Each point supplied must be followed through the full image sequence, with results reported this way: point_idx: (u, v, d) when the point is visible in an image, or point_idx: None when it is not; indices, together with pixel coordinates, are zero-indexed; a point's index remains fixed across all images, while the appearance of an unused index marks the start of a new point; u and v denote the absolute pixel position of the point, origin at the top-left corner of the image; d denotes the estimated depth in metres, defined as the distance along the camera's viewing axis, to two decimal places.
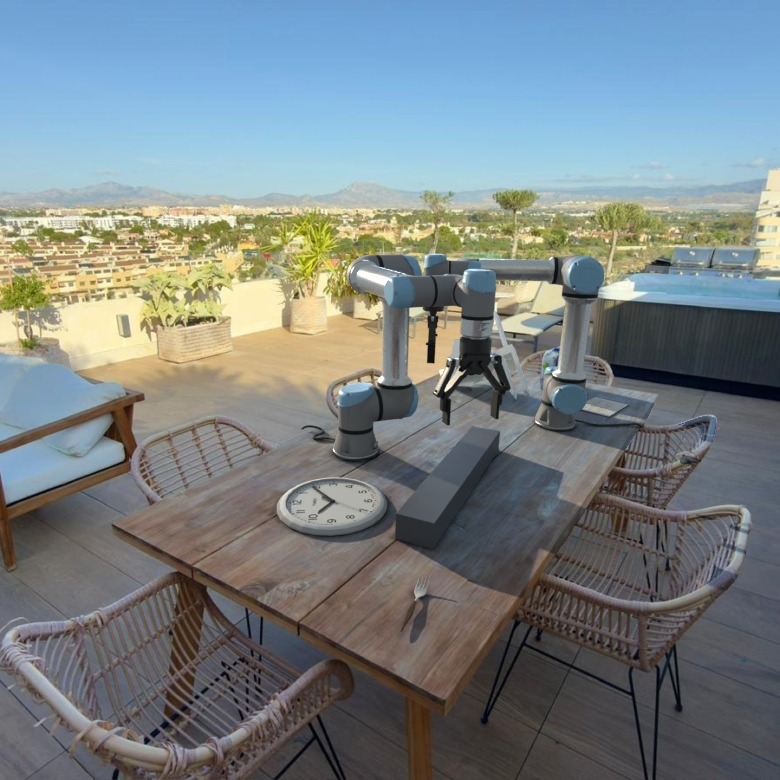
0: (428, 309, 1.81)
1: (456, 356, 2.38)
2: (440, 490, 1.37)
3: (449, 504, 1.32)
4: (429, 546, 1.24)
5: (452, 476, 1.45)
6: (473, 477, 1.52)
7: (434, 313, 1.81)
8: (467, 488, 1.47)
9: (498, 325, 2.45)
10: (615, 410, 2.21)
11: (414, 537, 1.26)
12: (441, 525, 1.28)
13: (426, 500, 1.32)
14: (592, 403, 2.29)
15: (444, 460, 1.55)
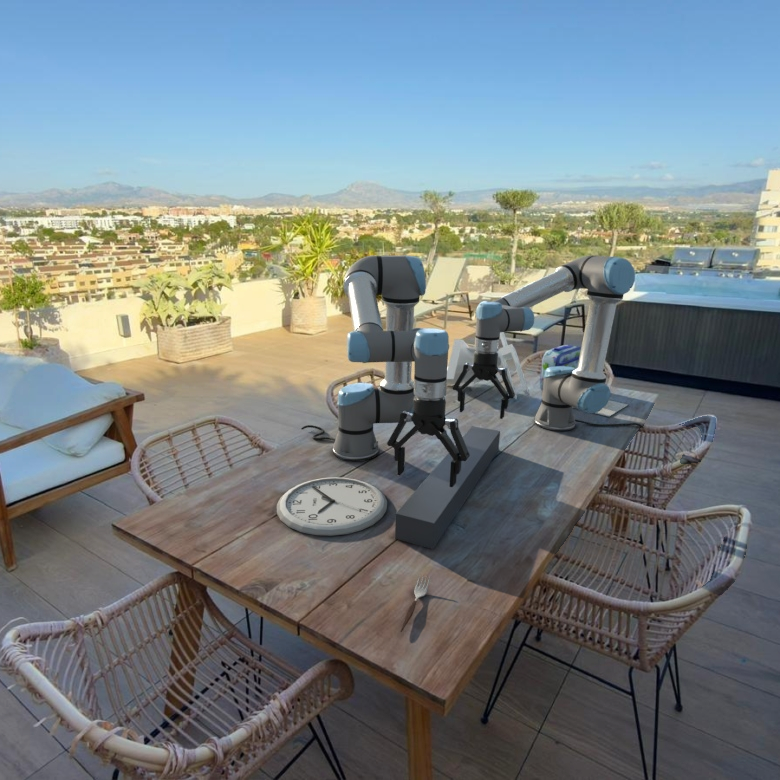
0: (494, 363, 1.64)
1: (456, 356, 2.38)
2: (440, 490, 1.37)
3: (449, 504, 1.32)
4: (429, 546, 1.24)
5: None
6: (473, 477, 1.52)
7: None
8: (467, 488, 1.47)
9: None
10: (615, 410, 2.21)
11: (414, 537, 1.26)
12: (441, 525, 1.28)
13: (426, 500, 1.32)
14: None
15: (444, 460, 1.55)
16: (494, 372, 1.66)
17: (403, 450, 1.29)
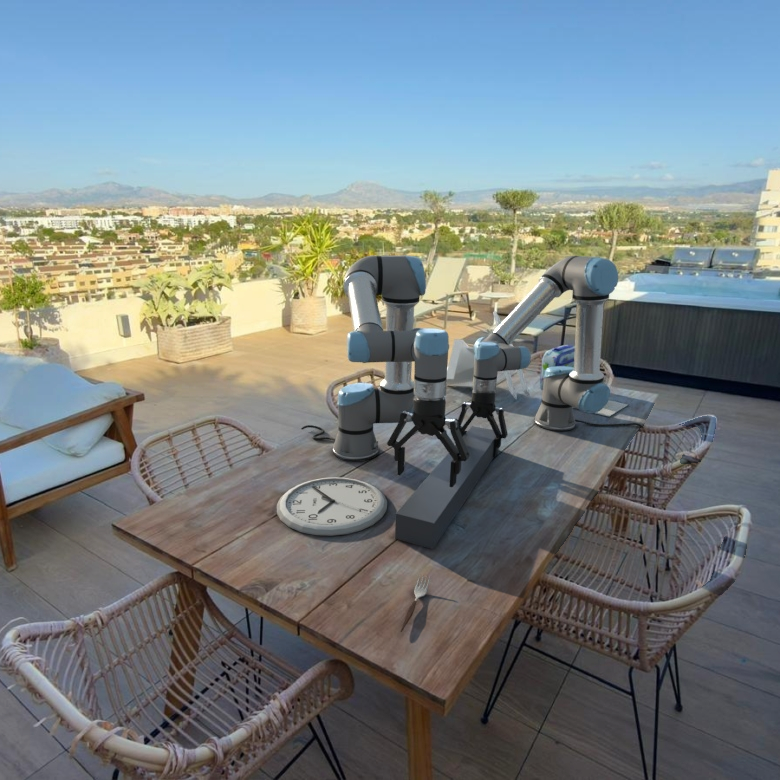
0: (492, 401, 1.68)
1: (456, 356, 2.38)
2: (440, 490, 1.37)
3: (449, 504, 1.32)
4: (429, 546, 1.24)
5: None
6: (473, 477, 1.52)
7: (494, 403, 1.70)
8: (467, 488, 1.47)
9: (498, 325, 2.45)
10: (615, 410, 2.21)
11: (414, 537, 1.26)
12: (441, 525, 1.28)
13: (426, 501, 1.32)
14: None
15: (444, 460, 1.55)
16: (492, 410, 1.69)
17: (403, 450, 1.29)
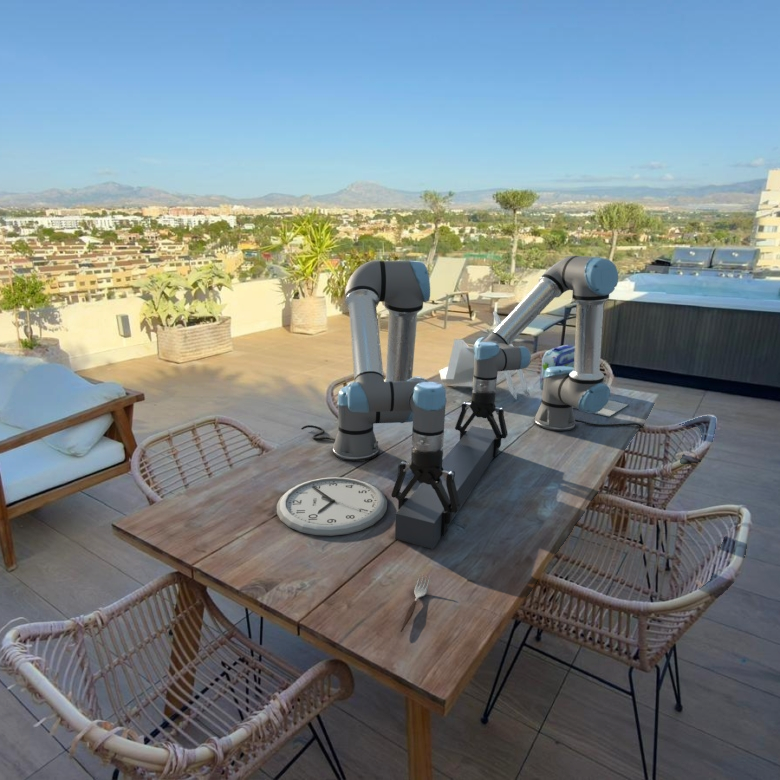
0: (492, 401, 1.68)
1: (456, 356, 2.38)
2: None
3: None
4: (429, 546, 1.24)
5: None
6: (473, 477, 1.52)
7: (494, 403, 1.70)
8: (467, 488, 1.47)
9: (498, 325, 2.45)
10: (615, 410, 2.21)
11: (414, 537, 1.26)
12: None
13: (426, 501, 1.32)
14: None
15: (444, 460, 1.55)
16: (492, 410, 1.69)
17: None
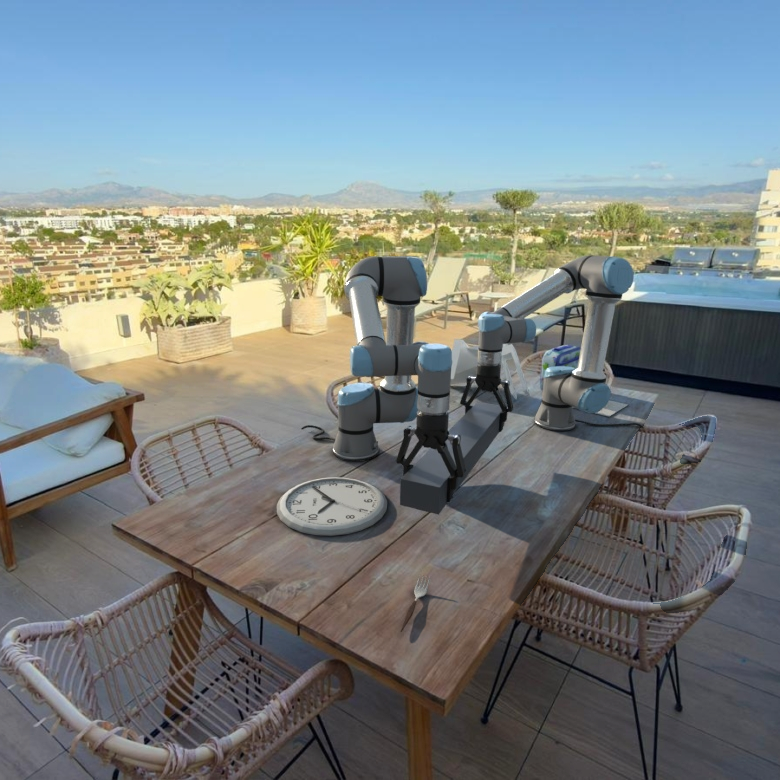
0: (497, 374, 1.66)
1: (456, 356, 2.38)
2: None
3: None
4: (434, 511, 1.22)
5: None
6: (479, 448, 1.49)
7: None
8: (473, 458, 1.45)
9: None
10: (615, 410, 2.21)
11: (419, 502, 1.23)
12: None
13: (431, 467, 1.30)
14: None
15: (449, 431, 1.53)
16: (497, 383, 1.67)
17: None
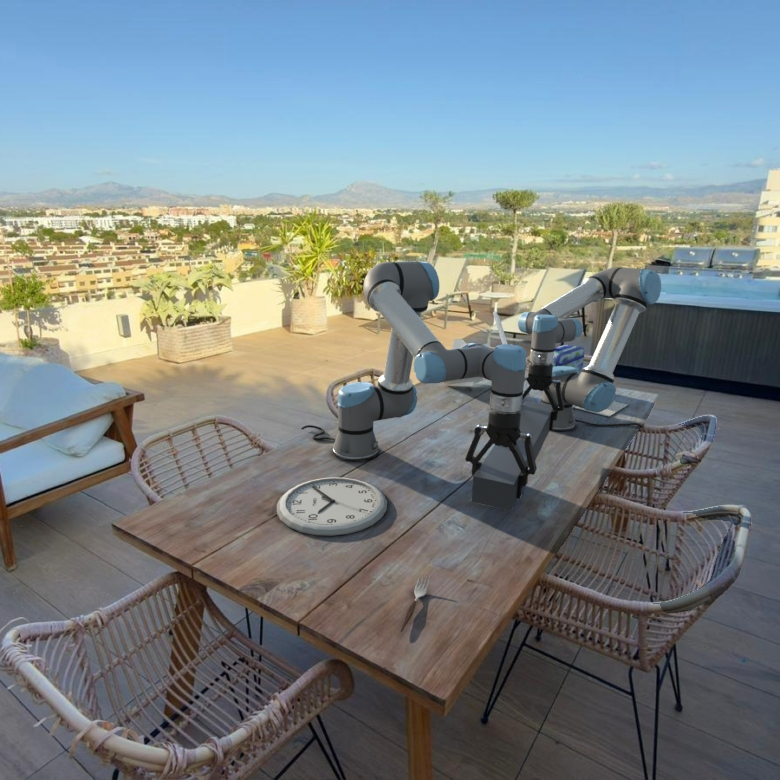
0: (550, 374, 1.69)
1: None
2: (511, 456, 1.39)
3: None
4: (507, 508, 1.25)
5: (519, 444, 1.46)
6: (537, 446, 1.53)
7: (551, 376, 1.71)
8: None
9: (498, 325, 2.45)
10: (615, 410, 2.21)
11: (491, 499, 1.27)
12: None
13: (499, 465, 1.33)
14: None
15: None
16: (549, 383, 1.70)
17: (480, 465, 1.33)
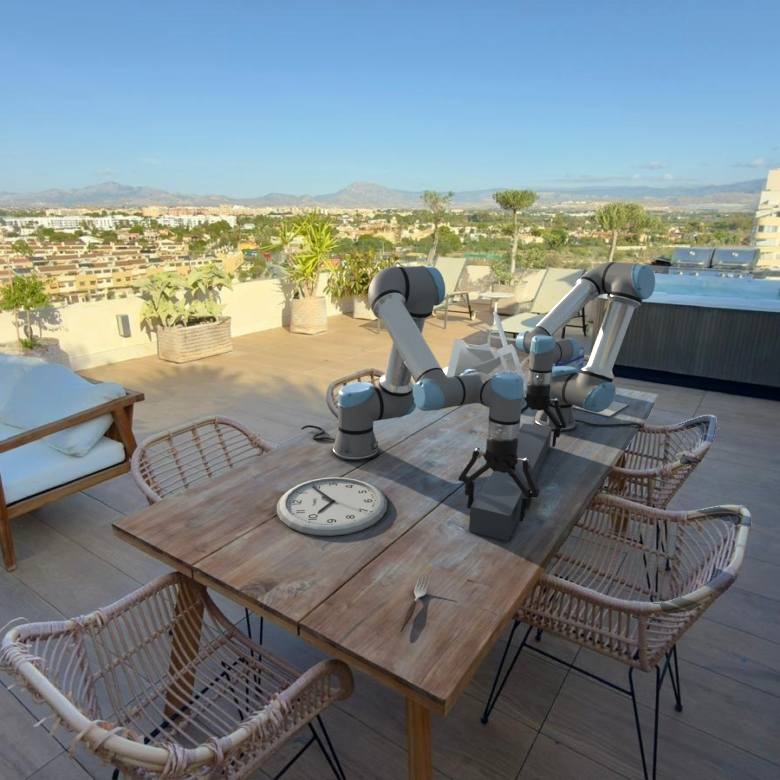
0: (548, 394, 1.71)
1: (456, 356, 2.38)
2: (508, 484, 1.41)
3: (519, 498, 1.35)
4: (504, 538, 1.28)
5: None
6: (534, 472, 1.55)
7: (549, 396, 1.73)
8: None
9: (498, 325, 2.45)
10: (615, 410, 2.21)
11: (488, 529, 1.29)
12: (514, 518, 1.31)
13: (497, 494, 1.35)
14: None
15: None
16: (547, 403, 1.72)
17: (473, 485, 1.36)
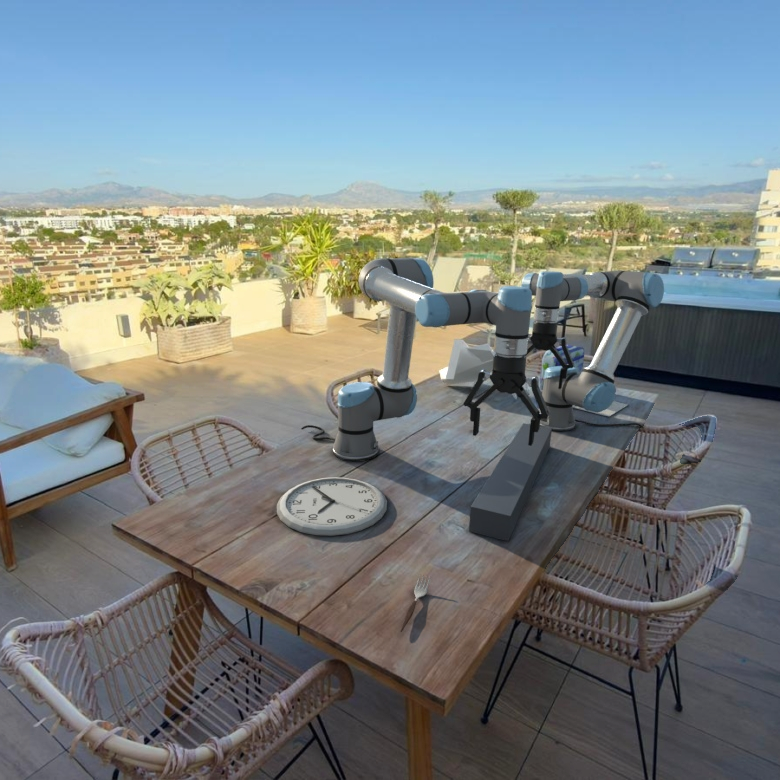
0: (554, 332, 1.65)
1: (456, 356, 2.38)
2: (508, 484, 1.41)
3: (519, 498, 1.35)
4: (504, 538, 1.28)
5: (517, 471, 1.49)
6: (534, 472, 1.55)
7: None
8: (530, 483, 1.51)
9: None
10: (615, 410, 2.21)
11: (488, 529, 1.29)
12: (514, 518, 1.31)
13: (497, 494, 1.35)
14: None
15: (504, 456, 1.59)
16: (553, 342, 1.66)
17: (479, 410, 1.29)
